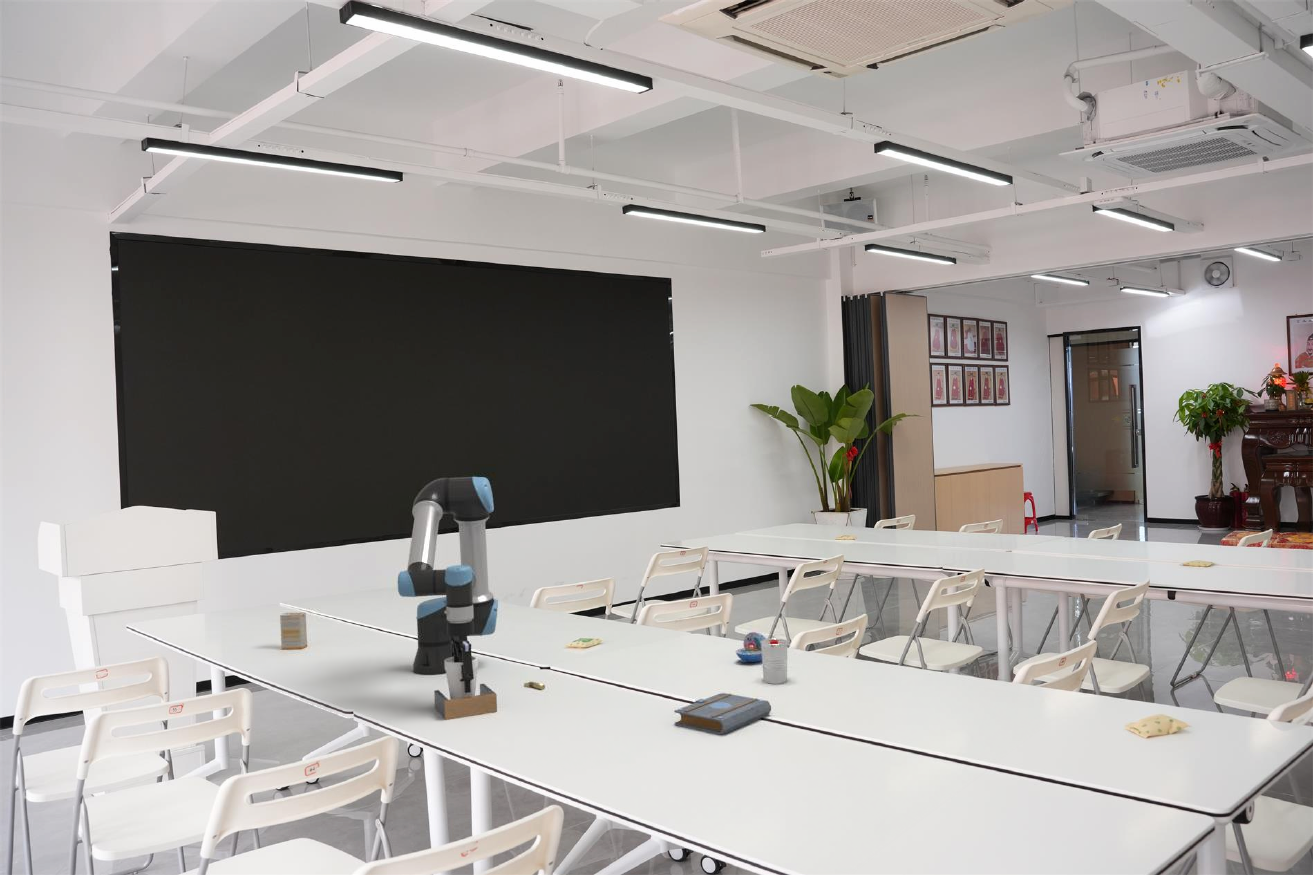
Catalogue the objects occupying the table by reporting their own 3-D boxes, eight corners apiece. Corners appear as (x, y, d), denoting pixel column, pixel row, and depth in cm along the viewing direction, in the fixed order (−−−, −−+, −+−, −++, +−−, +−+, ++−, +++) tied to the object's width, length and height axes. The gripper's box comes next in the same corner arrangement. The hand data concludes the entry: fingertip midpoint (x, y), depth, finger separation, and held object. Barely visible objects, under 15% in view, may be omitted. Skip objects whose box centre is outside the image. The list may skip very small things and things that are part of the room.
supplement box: (307, 646, 368) (306, 612, 368) (301, 649, 363) (300, 614, 363) (286, 646, 368) (285, 612, 368) (280, 649, 364) (279, 614, 364)
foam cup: (450, 711, 270) (449, 664, 270) (441, 703, 278) (440, 658, 278) (483, 706, 274) (482, 660, 274) (474, 698, 282) (472, 654, 282)
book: (724, 737, 242) (724, 717, 242) (673, 726, 253) (672, 707, 253) (771, 717, 258) (770, 698, 258) (721, 707, 269) (720, 689, 269)
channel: (434, 708, 276) (434, 690, 276) (484, 700, 282) (483, 683, 282) (445, 719, 264) (445, 701, 264) (497, 711, 270) (496, 693, 270)
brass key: (524, 686, 297) (523, 681, 297) (530, 685, 299) (530, 679, 299) (539, 690, 292) (539, 685, 292) (546, 689, 294) (545, 683, 294)
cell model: (729, 663, 319) (728, 634, 319) (752, 656, 327) (751, 628, 327) (752, 667, 312) (751, 637, 312) (775, 660, 320) (774, 631, 320)
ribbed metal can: (795, 678, 296) (793, 639, 296) (787, 685, 288) (785, 645, 288) (764, 676, 300) (762, 637, 300) (755, 683, 292) (753, 643, 292)
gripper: (438, 616, 284) (440, 692, 284) (456, 628, 264) (459, 710, 264) (463, 613, 287) (465, 688, 288) (483, 625, 268) (486, 706, 268)
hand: (462, 699), depth 276 cm, fingers closed on foam cup, 9 cm apart
